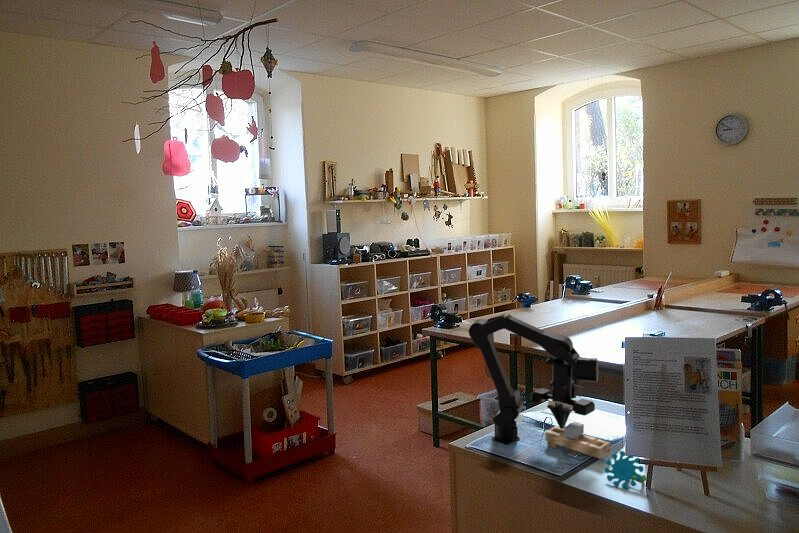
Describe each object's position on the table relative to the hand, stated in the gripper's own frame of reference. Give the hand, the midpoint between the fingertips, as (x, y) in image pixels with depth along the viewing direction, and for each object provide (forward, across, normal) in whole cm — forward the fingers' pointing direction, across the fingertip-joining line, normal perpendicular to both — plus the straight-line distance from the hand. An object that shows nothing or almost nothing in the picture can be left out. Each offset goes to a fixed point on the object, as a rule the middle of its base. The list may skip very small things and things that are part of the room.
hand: (562, 428), depth 183 cm
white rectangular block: (+3, -4, 0) cm, 5 cm away
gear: (+6, -24, +8) cm, 26 cm away
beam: (+6, -5, 0) cm, 8 cm away
